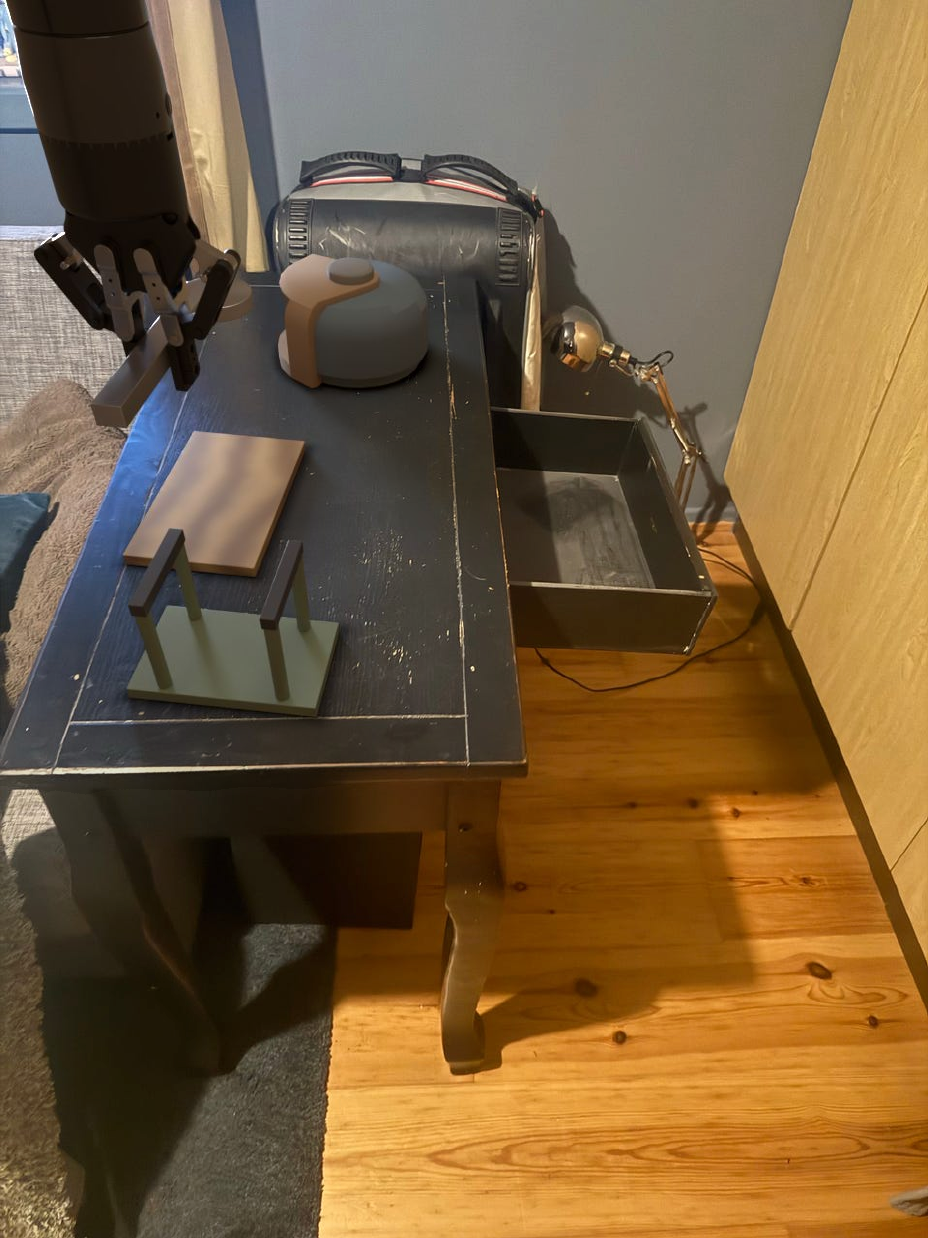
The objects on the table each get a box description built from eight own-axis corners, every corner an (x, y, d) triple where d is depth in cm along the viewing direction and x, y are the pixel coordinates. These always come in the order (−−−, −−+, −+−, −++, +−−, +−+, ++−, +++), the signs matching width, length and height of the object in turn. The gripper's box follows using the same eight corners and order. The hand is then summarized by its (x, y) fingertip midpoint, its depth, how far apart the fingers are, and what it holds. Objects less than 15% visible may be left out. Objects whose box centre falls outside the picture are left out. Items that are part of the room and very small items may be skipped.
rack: (129, 697, 69) (93, 605, 61) (169, 614, 76) (142, 521, 68) (316, 717, 69) (305, 627, 61) (339, 631, 76) (332, 540, 68)
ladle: (162, 451, 53) (151, 409, 51) (73, 442, 53) (58, 400, 51) (262, 293, 69) (257, 256, 67) (193, 286, 70) (186, 249, 67)
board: (124, 564, 80) (121, 555, 80) (196, 439, 96) (194, 430, 95) (255, 577, 80) (254, 568, 79) (305, 449, 95) (305, 441, 95)
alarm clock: (278, 324, 116) (268, 236, 108) (418, 320, 119) (419, 234, 111) (280, 395, 103) (268, 302, 95) (437, 388, 106) (440, 297, 98)
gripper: (-46, 126, 45) (54, 402, 58) (199, 146, 45) (246, 421, 57) (20, 89, 50) (98, 350, 63) (240, 107, 50) (275, 367, 62)
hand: (169, 383), depth 60 cm, fingers closed on ladle, 2 cm apart
